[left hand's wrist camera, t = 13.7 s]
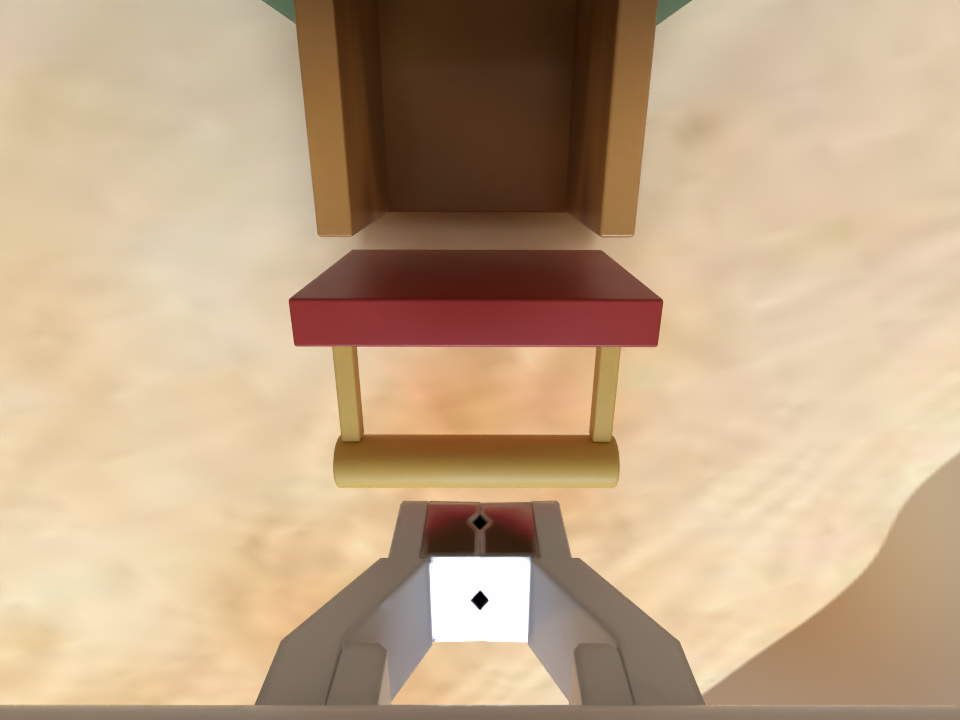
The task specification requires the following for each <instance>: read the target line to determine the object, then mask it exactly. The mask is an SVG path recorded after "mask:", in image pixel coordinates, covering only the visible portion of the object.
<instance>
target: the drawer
mask: <svg viewBox="0 0 960 720" xmlns="http://www.w3.org/2000/svg"><path fill="white" fill-rule="evenodd" d="M657 9H658V0H294V10H295V20H296V29H297V39H298V49H299V58H300V68H301V78H302V87H303V97H304V107H305V116H306V126H307V136H308V145H309V155H310V165H311V174H312V184H313V194H314V203H315V213H316V223H317V232H318V236H320V237H351V236H353V235H354V234H356V233H357V232H359V231H360V230H362V229H363V228H365V227H366V226H368V225H369V224H371V223H372V222H374V221H375V220H377V219H378V218H380V217H382V216H383V215H385V214H386V213H388V212H566V213H568V214H569V215H571V216H572V217H573V218H575V219H576V220H578V221H579V222H581V223H582V224H583V225H585V226H586V227H588V228H589V229H591V230H592V231H593V232H595V233H596V234H598V235H599V236H601V237H632V236H633V235H634V232H635V222H636V213H637V203H638V193H639V183H640V174H641V164H642V154H643V145H644V135H645V125H646V115H647V106H648V96H649V86H650V77H651V67H652V57H653V48H654V38H655V28H656V18H657ZM289 307H290V314H291V322H292V330H293V338H294V344H295V346H332V349H333V358H334V368H335V378H336V388H337V398H338V408H339V418H340V427H341V435H340V436H339V438H338V440H337V442H336V446H335V451H334V460H333V472H334V479H335V483H336V485H337V486H338V487H340V488H614V487H616V485H617V483H618V478H619V469H620V463H619V452H618V446H617V443H616V440H615V438H614V437H613V436H612V429H613V419H614V409H615V399H616V389H617V380H618V370H619V360H620V350H621V347H656V346H657V345H658V338H659V331H660V323H661V315H662V307H663V299H661V298H660V297H659V296H658V295H656V294H655V293H654V292H653V291H651V290H650V289H649V288H648V287H646V286H645V285H644V284H643V283H641V282H640V281H639V280H638V279H636V278H635V277H634V276H633V275H632V274H630V273H629V272H628V271H627V270H625V269H624V268H623V267H622V266H620V265H619V264H618V263H617V262H615V261H614V260H613V259H612V258H610V257H609V256H608V255H607V254H605V253H604V252H603V251H601V250H352V251H350V252H349V253H348V254H347V255H345V256H344V257H343V258H341V259H340V260H339V261H338V262H336V263H335V264H334V265H332V266H331V267H330V268H328V269H327V270H326V271H325V272H323V273H322V274H321V275H319V276H318V277H317V278H316V279H314V280H313V281H312V282H310V283H309V284H308V285H307V286H305V287H304V288H303V289H301V290H300V291H299V292H297V293H296V294H295V295H294V296H292V297H291V298H290V299H289ZM357 346H371V347H596V359H595V371H594V383H593V395H592V407H591V418H590V430H589V433H590V435H363V433H364V428H363V416H362V404H361V393H360V381H359V369H358V357H357Z"/></svg>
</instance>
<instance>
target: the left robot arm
mask: <svg viewBox="0 0 960 720" xmlns="http://www.w3.org/2000/svg"><path fill="white" fill-rule="evenodd" d="M479 640H480V641H515V642H528V645H529V647H530V648H531V649H532V651H533V652H534V654H535V655H536V656H537V658H538V659H539V660H540V662H541V663H542V665H543V666H544V667H545V669H546V670H547V672H548V673H549V674H550V676H551V677H552V679H553V680H554V681H555V683H556V684H557V686H558V687H559V688H560V690H561V691H562V692H563V694H564V695H565V697H566V698H567V699H568V701H569V705H391V701H392V700H393V698H394V697H395V696H396V694H397V693H398V691H399V690H400V689H401V687H402V686H403V685H404V683H405V682H406V680H407V679H408V678H409V676H410V675H411V673H412V672H413V671H414V669H415V668H416V667H417V665H418V664H419V662H420V661H421V660H422V658H423V657H424V655H425V654H426V653H427V651H428V650H429V649H430V647H431V646H432V642H445V641H479ZM0 720H960V705H705V703H704V700H703V698H702V696H701V693H700V691H699V688H698V686H697V683H696V681H695V678H694V676H693V674H692V671H691V669H690V666H689V664H688V661H687V659H686V656H685V654H684V651H683V649H682V647H681V644H680V642H679V641H678V640H677V639H676V638H675V637H673V636H672V635H671V634H670V633H669V632H667V631H666V630H665V629H664V628H663V627H661V626H660V625H659V624H658V623H657V622H655V621H654V620H653V619H652V618H651V617H649V616H648V615H647V614H646V613H645V612H643V611H642V610H641V609H640V608H639V607H637V606H636V605H635V604H634V603H633V602H631V601H630V600H629V599H628V598H627V597H625V596H624V595H623V594H622V593H621V592H619V591H618V590H617V589H616V588H615V587H613V586H612V585H611V584H610V583H609V582H607V581H606V580H605V579H604V578H603V577H602V576H600V575H599V574H598V573H597V572H596V571H594V570H593V569H592V568H591V567H590V566H588V565H587V564H586V563H585V562H584V561H582V560H581V559H580V558H572V557H571V553H570V548H569V544H568V540H567V535H566V531H565V527H564V522H563V518H562V514H561V509H560V505H559V503H558V502H557V501H531V502H505V503H480V502H448V501H429V502H428V501H403V502H402V504H401V505H400V509H399V513H398V518H397V522H396V526H395V531H394V535H393V539H392V544H391V548H390V552H389V557H388V558H380V559H379V560H378V561H376V562H375V563H374V564H373V565H372V566H370V567H369V568H368V569H367V570H366V571H364V572H363V573H362V574H361V575H360V576H358V577H357V578H356V579H355V580H354V581H352V582H351V583H350V584H349V585H348V586H346V587H345V588H344V589H343V590H342V591H340V592H339V593H338V594H337V595H336V596H334V597H333V598H332V599H331V600H330V601H328V602H327V603H326V604H325V605H324V606H322V607H321V608H320V609H319V610H318V611H316V612H315V613H314V614H313V615H312V616H310V617H309V618H308V619H307V620H306V621H304V622H303V623H302V624H301V625H299V626H298V627H297V628H296V629H295V630H293V631H292V632H291V633H290V634H289V635H287V636H286V637H285V638H284V639H283V640H281V642H280V645H279V647H278V650H277V652H276V654H275V657H274V659H273V662H272V664H271V667H270V669H269V671H268V674H267V676H266V679H265V681H264V683H263V686H262V688H261V691H260V693H259V695H258V698H257V700H256V703H255V705H0Z"/></svg>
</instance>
